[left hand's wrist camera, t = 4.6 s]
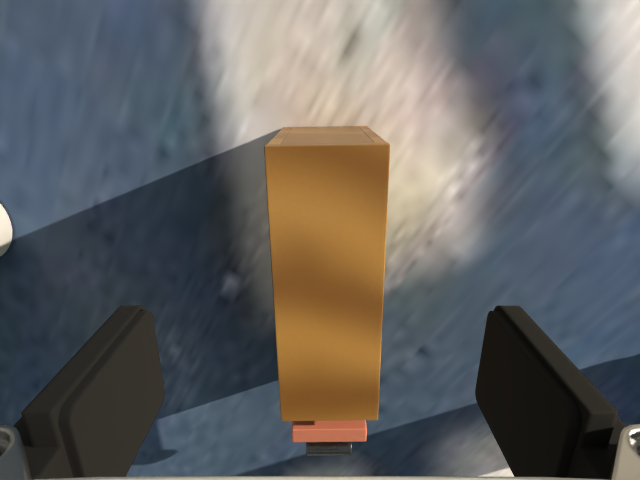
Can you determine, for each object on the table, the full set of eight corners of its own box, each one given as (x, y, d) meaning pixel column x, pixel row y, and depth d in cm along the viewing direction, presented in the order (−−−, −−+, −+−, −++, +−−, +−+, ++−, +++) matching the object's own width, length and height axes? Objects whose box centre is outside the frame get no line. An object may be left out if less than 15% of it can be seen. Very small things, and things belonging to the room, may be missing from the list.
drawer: (355, 409, 39) (364, 498, 31) (300, 410, 39) (295, 499, 31) (359, 178, 31) (374, 211, 23) (291, 179, 31) (281, 212, 23)
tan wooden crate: (362, 329, 37) (377, 420, 27) (291, 330, 37) (281, 421, 27) (367, 126, 31) (390, 144, 21) (282, 127, 31) (263, 146, 21)
